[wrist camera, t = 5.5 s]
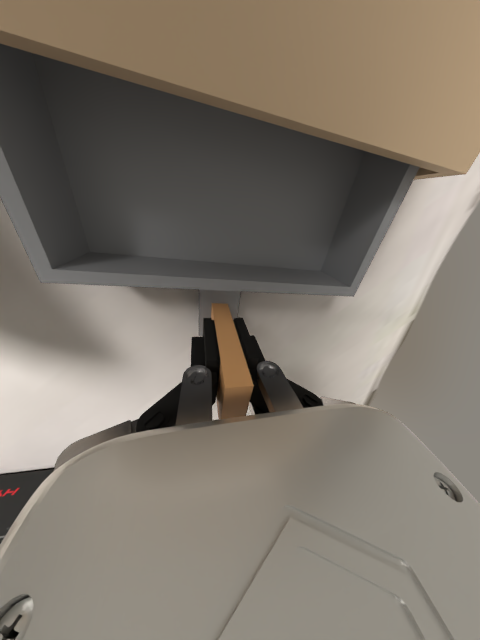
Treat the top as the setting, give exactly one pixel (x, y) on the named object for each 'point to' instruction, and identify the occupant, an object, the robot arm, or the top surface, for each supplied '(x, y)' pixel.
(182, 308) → the top surface
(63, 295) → the top surface
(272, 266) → the tray
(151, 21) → the sleeve
